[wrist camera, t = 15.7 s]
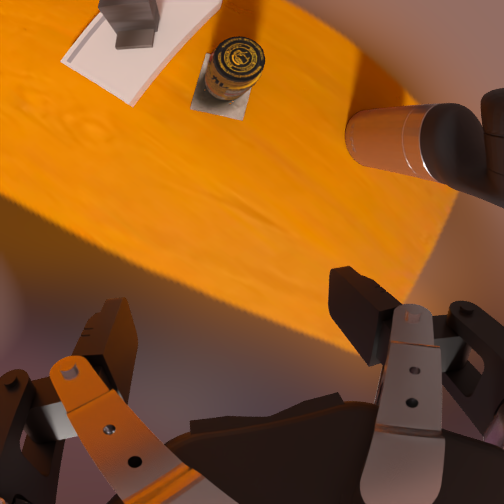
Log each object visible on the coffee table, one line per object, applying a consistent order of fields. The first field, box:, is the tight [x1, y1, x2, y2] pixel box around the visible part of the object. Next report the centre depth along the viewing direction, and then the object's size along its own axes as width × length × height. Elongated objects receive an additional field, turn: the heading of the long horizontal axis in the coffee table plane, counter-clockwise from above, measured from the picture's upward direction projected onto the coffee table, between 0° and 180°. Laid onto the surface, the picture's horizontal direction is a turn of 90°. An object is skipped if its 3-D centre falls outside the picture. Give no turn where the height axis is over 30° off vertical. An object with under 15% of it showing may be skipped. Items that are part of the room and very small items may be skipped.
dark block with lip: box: [98, 0, 160, 50], centre depth 25 cm, size 6×5×10 cm
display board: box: [60, 0, 222, 107], centre depth 30 cm, size 19×13×3 cm
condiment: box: [190, 36, 265, 121], centre depth 31 cm, size 7×8×12 cm
